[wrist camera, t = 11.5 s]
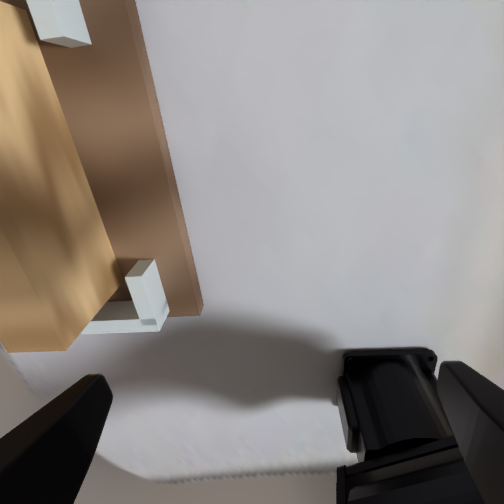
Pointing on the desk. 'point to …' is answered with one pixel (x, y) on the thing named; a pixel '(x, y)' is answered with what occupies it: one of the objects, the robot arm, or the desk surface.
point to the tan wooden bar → (44, 208)
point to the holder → (120, 155)
